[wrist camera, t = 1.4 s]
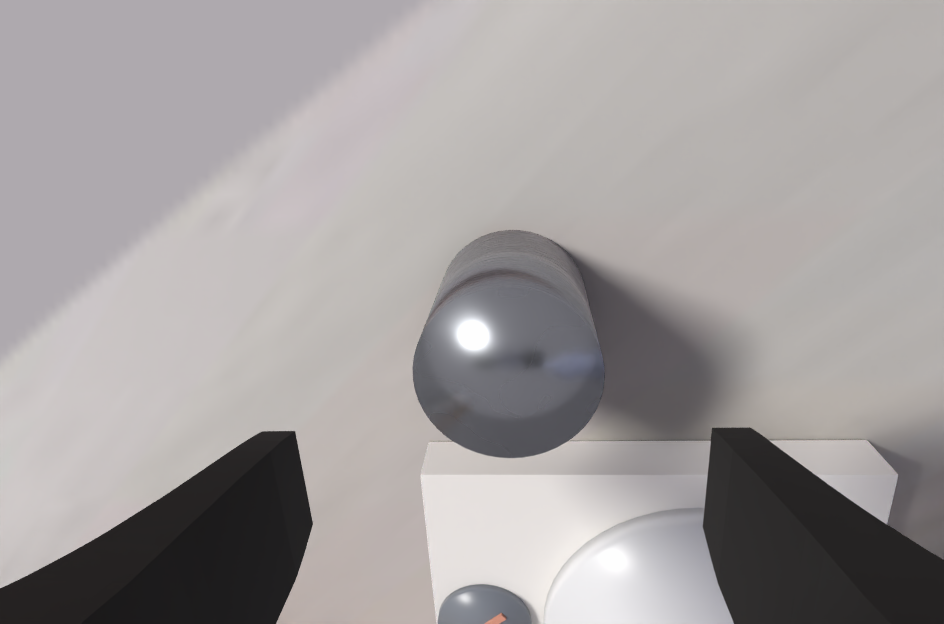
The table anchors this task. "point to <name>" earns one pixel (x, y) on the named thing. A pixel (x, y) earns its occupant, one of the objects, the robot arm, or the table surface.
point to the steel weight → (510, 348)
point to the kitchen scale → (597, 529)
